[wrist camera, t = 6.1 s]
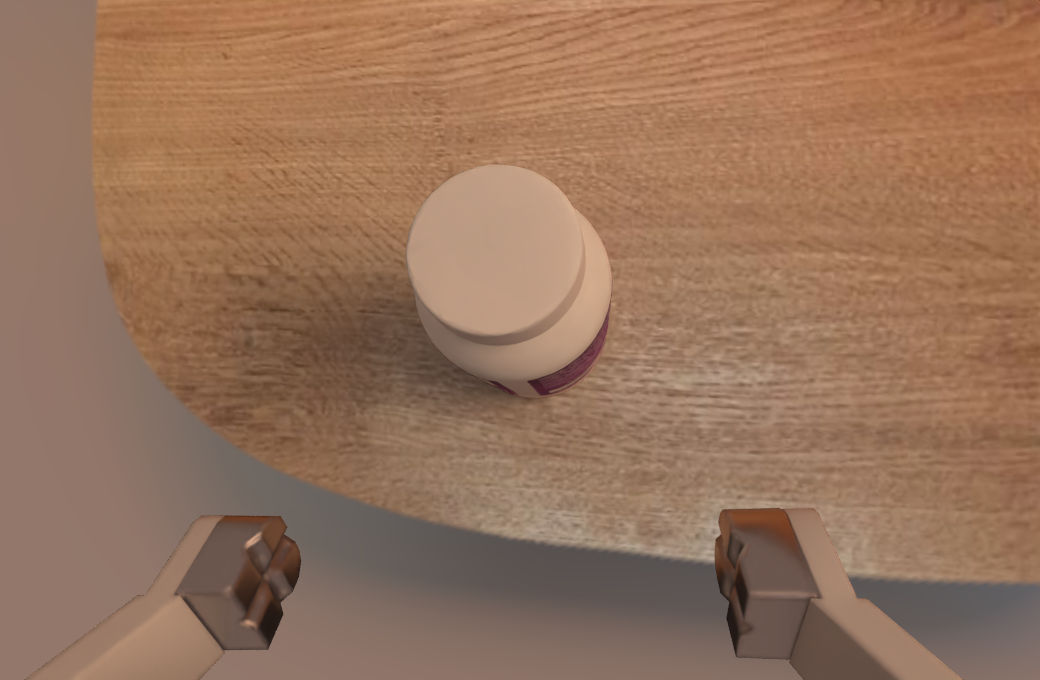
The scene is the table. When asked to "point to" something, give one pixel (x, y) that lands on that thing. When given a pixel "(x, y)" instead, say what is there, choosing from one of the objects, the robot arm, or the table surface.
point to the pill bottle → (510, 280)
